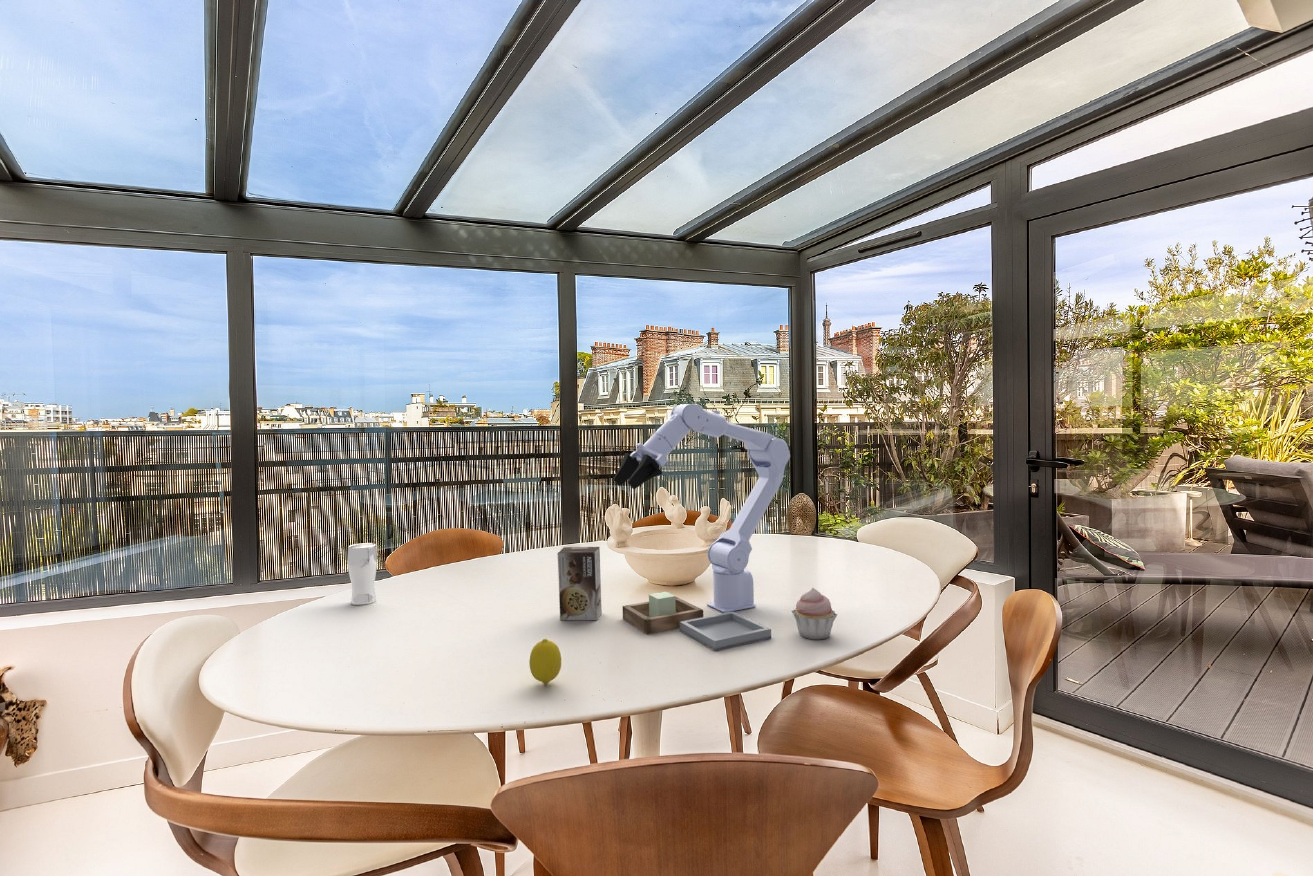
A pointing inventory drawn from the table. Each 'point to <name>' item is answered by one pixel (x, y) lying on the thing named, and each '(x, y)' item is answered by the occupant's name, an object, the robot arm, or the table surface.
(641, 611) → the frame
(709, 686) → the table surface
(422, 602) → the table surface
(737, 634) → the tray
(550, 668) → the lemon
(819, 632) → the cupcake
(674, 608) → the block
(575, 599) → the coffee box
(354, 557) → the beer glass
